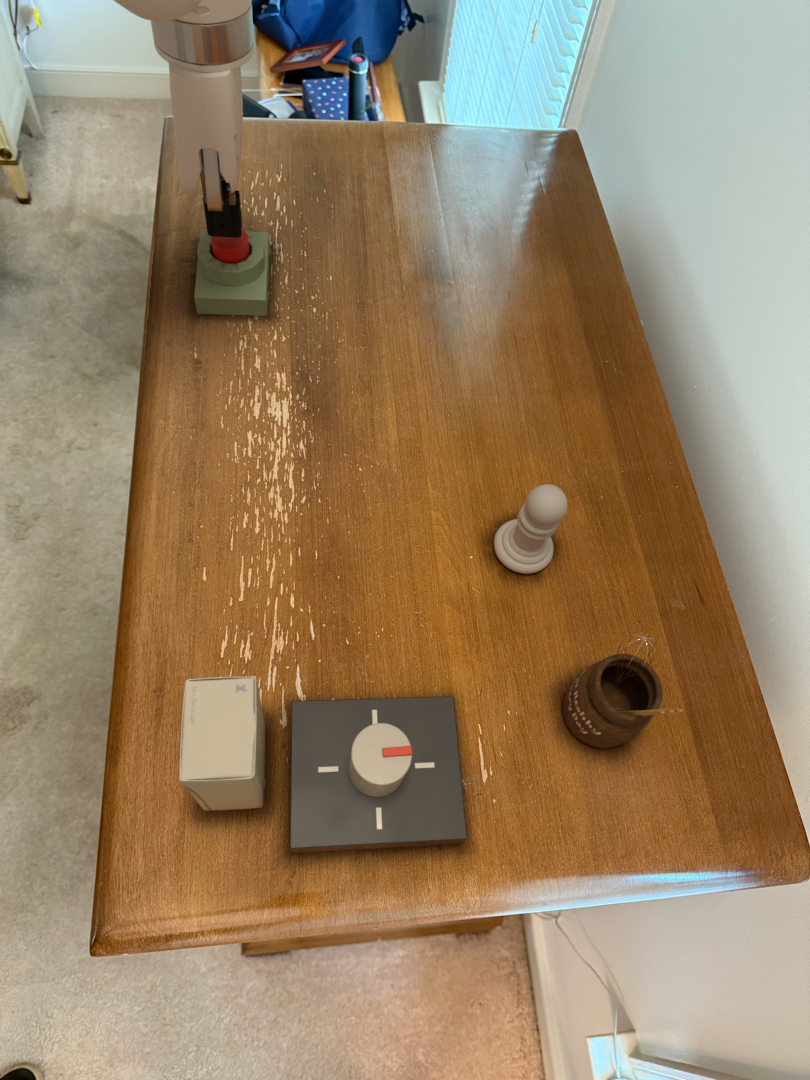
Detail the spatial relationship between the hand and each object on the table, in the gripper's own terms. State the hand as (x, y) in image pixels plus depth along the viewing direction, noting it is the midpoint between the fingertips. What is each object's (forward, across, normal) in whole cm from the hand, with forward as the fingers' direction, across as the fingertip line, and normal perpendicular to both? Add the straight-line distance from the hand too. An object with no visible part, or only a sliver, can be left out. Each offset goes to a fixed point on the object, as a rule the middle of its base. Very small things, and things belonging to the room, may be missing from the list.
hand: (225, 231), depth 71 cm
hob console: (+7, +51, +13) cm, 53 cm away
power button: (+3, 0, 0) cm, 3 cm away
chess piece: (+7, +32, +27) cm, 42 cm away
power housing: (+6, 0, 0) cm, 6 cm away
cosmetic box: (+7, +50, +3) cm, 50 cm away
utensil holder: (+7, +47, +31) cm, 56 cm away
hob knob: (+4, +51, +13) cm, 52 cm away
